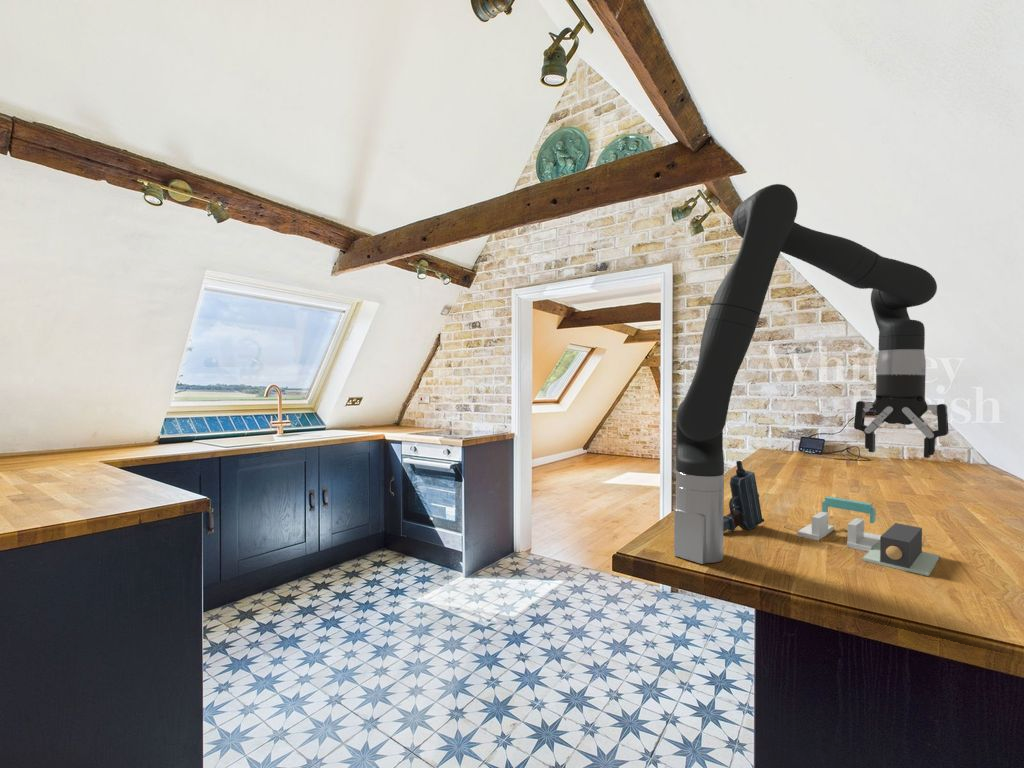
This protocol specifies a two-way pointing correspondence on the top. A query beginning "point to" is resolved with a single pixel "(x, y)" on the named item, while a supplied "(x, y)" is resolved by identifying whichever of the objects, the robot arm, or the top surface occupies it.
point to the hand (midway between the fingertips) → (898, 454)
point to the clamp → (855, 532)
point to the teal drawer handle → (849, 506)
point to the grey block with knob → (901, 545)
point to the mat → (920, 566)
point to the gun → (743, 501)
